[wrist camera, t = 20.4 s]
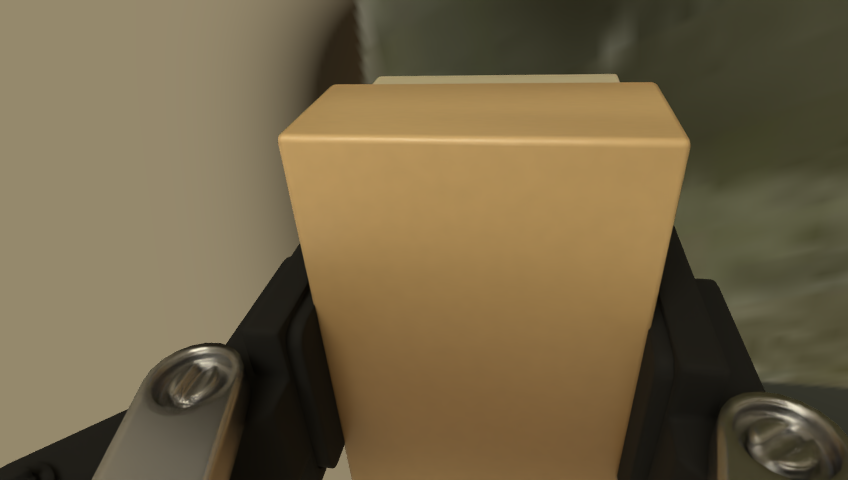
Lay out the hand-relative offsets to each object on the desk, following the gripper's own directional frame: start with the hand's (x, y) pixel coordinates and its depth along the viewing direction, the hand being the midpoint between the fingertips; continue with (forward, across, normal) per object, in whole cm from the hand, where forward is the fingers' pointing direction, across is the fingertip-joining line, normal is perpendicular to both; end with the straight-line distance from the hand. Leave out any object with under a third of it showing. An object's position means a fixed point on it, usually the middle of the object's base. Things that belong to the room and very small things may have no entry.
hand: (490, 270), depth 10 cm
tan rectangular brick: (0, 0, 0) cm, 0 cm away
